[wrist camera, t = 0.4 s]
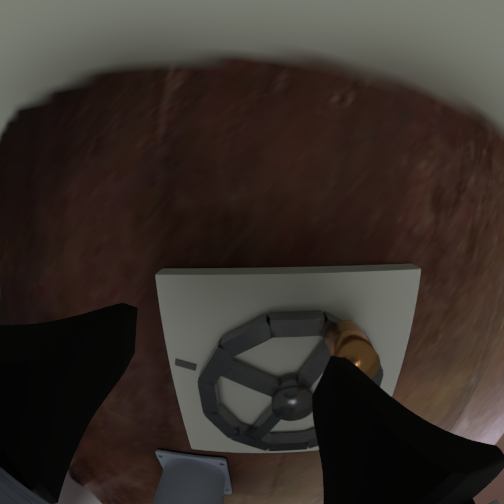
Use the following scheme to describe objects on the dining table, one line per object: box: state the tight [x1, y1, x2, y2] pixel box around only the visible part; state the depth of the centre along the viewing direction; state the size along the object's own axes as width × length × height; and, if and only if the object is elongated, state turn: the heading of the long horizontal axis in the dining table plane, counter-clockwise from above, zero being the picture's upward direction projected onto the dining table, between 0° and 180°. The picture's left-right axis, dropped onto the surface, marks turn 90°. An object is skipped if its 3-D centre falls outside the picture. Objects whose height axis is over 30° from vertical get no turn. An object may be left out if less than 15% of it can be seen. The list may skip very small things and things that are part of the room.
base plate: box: [155, 264, 421, 453], centre depth 20 cm, size 18×18×2 cm
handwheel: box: [197, 310, 384, 451], centre depth 16 cm, size 14×13×5 cm
